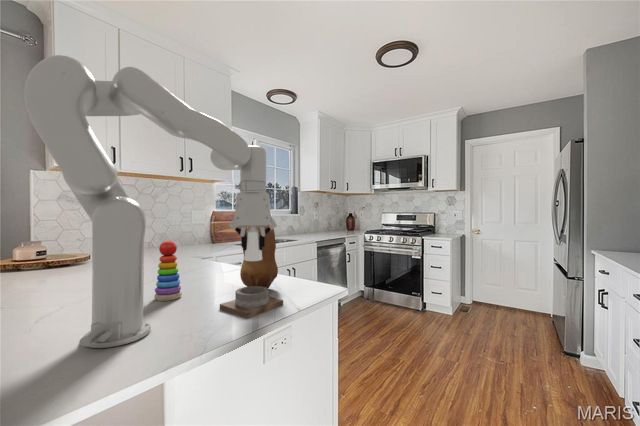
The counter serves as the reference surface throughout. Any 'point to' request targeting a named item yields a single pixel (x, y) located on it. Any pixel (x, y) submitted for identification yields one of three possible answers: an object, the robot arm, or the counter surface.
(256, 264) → the butternut squash
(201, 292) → the counter surface
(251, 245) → the pepper shaker
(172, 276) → the stacking toy
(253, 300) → the shaft housing
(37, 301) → the counter surface
